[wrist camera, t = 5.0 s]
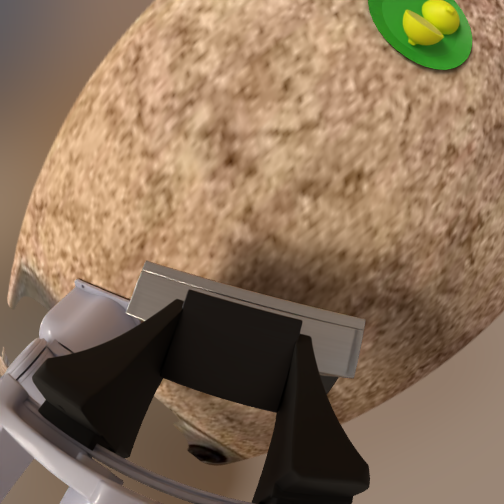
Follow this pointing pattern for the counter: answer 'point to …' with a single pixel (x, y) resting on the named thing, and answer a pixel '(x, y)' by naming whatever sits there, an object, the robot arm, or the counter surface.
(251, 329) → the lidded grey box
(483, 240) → the counter surface
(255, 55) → the counter surface
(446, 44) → the green plate with lemons
